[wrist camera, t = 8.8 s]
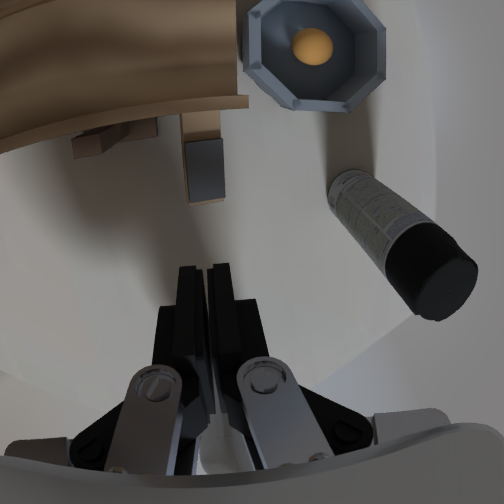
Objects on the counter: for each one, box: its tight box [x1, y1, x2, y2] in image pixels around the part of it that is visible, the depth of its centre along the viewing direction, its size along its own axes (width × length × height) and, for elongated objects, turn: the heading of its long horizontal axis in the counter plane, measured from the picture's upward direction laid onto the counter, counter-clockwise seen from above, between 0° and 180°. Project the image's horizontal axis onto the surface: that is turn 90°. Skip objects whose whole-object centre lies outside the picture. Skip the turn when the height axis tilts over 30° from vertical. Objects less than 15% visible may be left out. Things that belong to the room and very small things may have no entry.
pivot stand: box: [71, 117, 158, 159], centre depth 21 cm, size 18×8×10 cm, turn 0°
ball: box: [292, 28, 333, 65], centre depth 25 cm, size 4×4×4 cm
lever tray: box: [0, 0, 249, 207], centre depth 19 cm, size 20×24×7 cm
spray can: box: [328, 170, 478, 322], centre depth 28 cm, size 7×7×20 cm
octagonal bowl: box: [242, 0, 386, 114], centre depth 25 cm, size 13×13×6 cm
